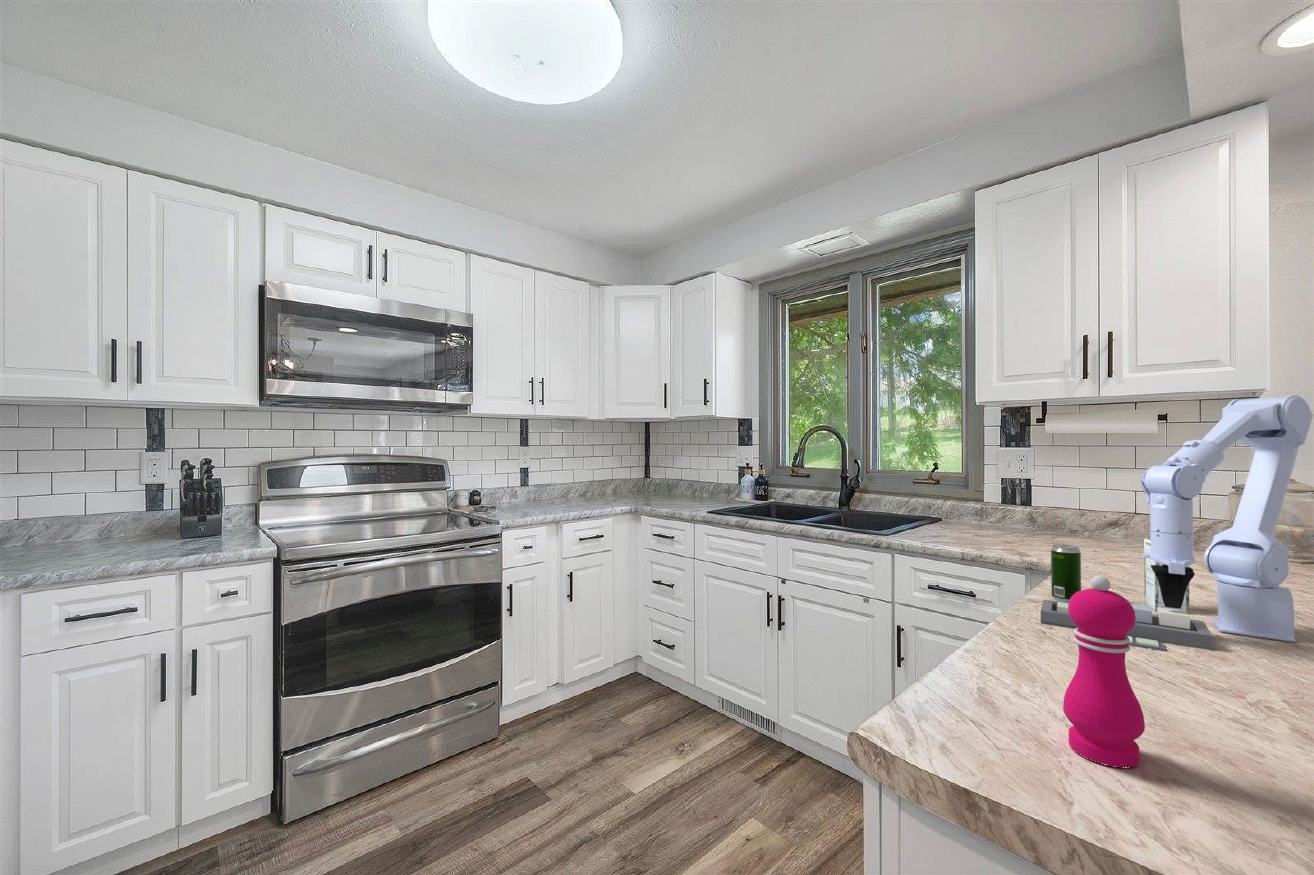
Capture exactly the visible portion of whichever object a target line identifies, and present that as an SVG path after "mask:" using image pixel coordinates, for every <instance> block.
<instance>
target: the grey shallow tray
mask: <svg viewBox="0 0 1314 875" xmlns="http://www.w3.org/2000/svg"><path fill="white" fill-rule="evenodd" d="M1058 602H1060V601H1057V600H1050V599H1043V600H1042V603H1041V609H1040V624H1044V625H1050V626H1056V627H1062V628H1063V627H1064V628H1069V629H1075V628H1078V627H1077V626H1076V624H1075V623H1074V622H1073V621H1072V620H1071V618H1070V617H1069V614H1068V613H1066V612H1059V611H1057V603H1058ZM1063 603H1067V602H1063ZM1126 636H1130V637H1132V638H1136V637H1137V638H1143V639H1149V640H1156V641H1158V642H1161V643H1163V644H1171V645H1177V646H1183V647H1189V648H1197V649H1203V650H1207V651H1208V650H1209V651H1214V635H1213V634H1212V632H1211V631H1210V629H1209V628H1208V627H1207V625H1206V623H1205V621H1203V620H1197V619H1191V618H1190V629H1186V628H1179V627H1172V626H1165V625H1159V622H1158V620H1157V614H1153V613H1152V624H1151V623H1144V622H1137V621H1135V625H1134V627H1133V628H1132V630H1130V631H1129V632H1128V633H1127V634H1126Z"/></svg>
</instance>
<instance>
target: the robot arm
mask: <svg viewBox="0 0 1314 875" xmlns="http://www.w3.org/2000/svg"><path fill="white" fill-rule="evenodd" d="M1312 420H1313V412H1312V411H1311V408H1310V405H1309V403H1308V402H1307V400H1305V399H1304V398H1303V397H1302V396H1300V395H1296V394H1295V395H1294V394H1293V395H1292V394H1291V395H1287V396H1278V397H1276V396H1275V397H1262V398H1261V397H1260V398H1247V399H1244V398H1237V399H1233V400H1231V401H1230V402H1228V404H1227V405H1226V406H1224V407H1223V408H1222V410H1221V419H1220V420H1219V421H1218V422H1217V423H1216V424H1215V425H1214V426H1213V427H1212V428H1211V430H1209V432H1207V434H1205V436H1204V437H1203V438H1202V439H1192V440H1186V441H1185V442H1184V443H1183V444H1182V445H1183V446H1182V447H1181V448H1180V449H1179V450H1177V451H1176V452H1175V453H1174V454H1172V456H1170V457H1168V458H1167V459H1166V460H1165V462H1163V463H1162V464H1161V465H1153V466H1151V467H1149V468H1148V469H1147V470H1145V472H1144V473H1143V475H1142V479H1141V480H1140V481H1139V482H1140V487H1141V489H1142V491H1143V492H1144V494H1145V500H1146V503H1147V505H1149V517H1150V518H1149V527H1150V528H1149V529H1150V531H1149V532H1150V533H1149V534H1150V539H1151V553H1144V552H1143V553H1141V554H1142V555H1141V557H1142V558H1143V559H1144V558H1149V559H1152V560H1155V561H1157V562H1160V563H1163V564H1164V565H1162V566H1159V565H1151V568H1152V570H1153V571H1154V573H1155V575H1156V577H1157V580H1158V583H1159V586H1160V590H1161V595H1162V599H1163V602H1164V605H1165V607H1170V608H1177V609H1181V607H1182V604H1183V600H1184V596H1185V592H1186V589H1187V586H1188V584H1189V585H1190V582H1191V580H1193V578H1194V577H1195V574H1196V573H1195V572H1194V569H1193V568H1192V567H1190V566H1191V565H1193V564H1195V563H1196V558H1195V557H1194V554H1195V552H1194V507H1193V506H1194V504H1193V503H1194V498H1196V497H1197V496H1199V495H1200V494H1201V492H1202V489H1203V484H1204V482H1206V479H1207V476H1208V475H1210V473H1212V472H1213V471H1214V470H1215V469H1216V468H1218V466H1220V465H1221V464H1222V462H1224V460H1225V454H1224V453H1223V452H1224V451H1226V450H1227V449H1229V448H1231V446H1233V445H1234V444H1236V443H1237V442H1238V441H1240V442H1242V443H1243V444H1244V445H1246V446H1249V447H1251V448H1253V449H1254V455H1253V460H1252V461H1251V462H1252V463H1251V465H1250V469H1249V472H1248V476H1247V479H1246V481H1245V485H1244V488H1243V492H1242V494H1241V498H1240V501H1239V505H1238V508H1237V511H1236V514H1235V518H1234V521H1233V524H1232V527H1230V528H1227V529H1225V530H1222V531H1220V532H1218V533H1217V534H1214V536H1213V540H1212V542H1211V543H1210V545H1209V546H1208V547H1207V548H1206V550H1205V551H1204V553H1203V564H1204V566H1205V568H1206V570H1207V572H1208V573H1210V574H1211V575H1212V580H1216V581H1217V584H1216V585H1217V586H1216V587H1217V616H1218V617H1217V619H1216V618H1212V619H1211V620H1212V623H1213V624H1214V626H1215V627H1216V628H1217V630H1218V631H1219V632H1222V633H1227V634H1235V635H1236V634H1237V635H1242V636H1249V637H1254V638H1255V637H1257V638H1261V639H1270V640H1277V641H1283V642H1292V643H1296V642H1297V641H1296V639H1295V607H1294V606H1295V605H1294V604H1295V603H1294V599H1293V598H1294V597H1293V594H1292V591H1291V589H1289V588H1288V587H1282V586H1280V585H1282V583H1284V582H1285V581H1286V579H1287V578H1288V576H1289V572H1290V568H1289V567H1290V566H1289V554H1290V549H1288V548H1287V546H1286V545H1285V544H1283V542H1281V541H1279V540H1278V539H1277V538H1276V537H1275V536H1274V534H1275V530H1276V527H1277V523H1278V519H1279V516H1280V514H1281V510H1282V507H1283V503H1284V499H1285V496H1286V493H1287V490H1288V486H1289V483H1290V480H1291V476H1292V474H1293V470H1294V467H1295V463H1296V460H1297V456H1298V453H1299V449H1300V447H1301V446H1302V445H1305V444H1306V440H1307V437H1308V433H1309V431H1310V428H1311V423H1312ZM1188 565H1189V567H1185V566H1188Z"/></svg>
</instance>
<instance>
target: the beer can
mask: <svg viewBox="0 0 1314 875" xmlns="http://www.w3.org/2000/svg"><path fill="white" fill-rule="evenodd" d="M1081 558H1082V552H1081V550H1080V547H1079V546H1077V545H1071V544H1064V543H1063V544H1061V543H1060V544H1058V543H1057V544H1055V543H1054V544H1051V549H1050V565H1051V566H1050V569H1051V570H1050V571H1051V572H1050V573H1051V574H1050V575H1051V576H1050V577H1051V579H1050V581H1051V596H1052V599H1053V600H1054V601H1059V602H1066V603H1069V601H1070V598H1071V597H1072V596H1073V595H1074V594H1075V593H1076V592H1078V591H1081V590H1082V559H1081Z"/></svg>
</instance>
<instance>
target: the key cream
mask: <svg viewBox="0 0 1314 875" xmlns="http://www.w3.org/2000/svg"><path fill="white" fill-rule="evenodd" d="M1156 615H1157V620H1158V622H1159V625H1165V626H1172V627H1179V628H1186V629H1190V619H1191V617H1190V613H1187V611H1182V610H1174V609H1167V608H1159V607H1157V610H1156Z"/></svg>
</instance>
